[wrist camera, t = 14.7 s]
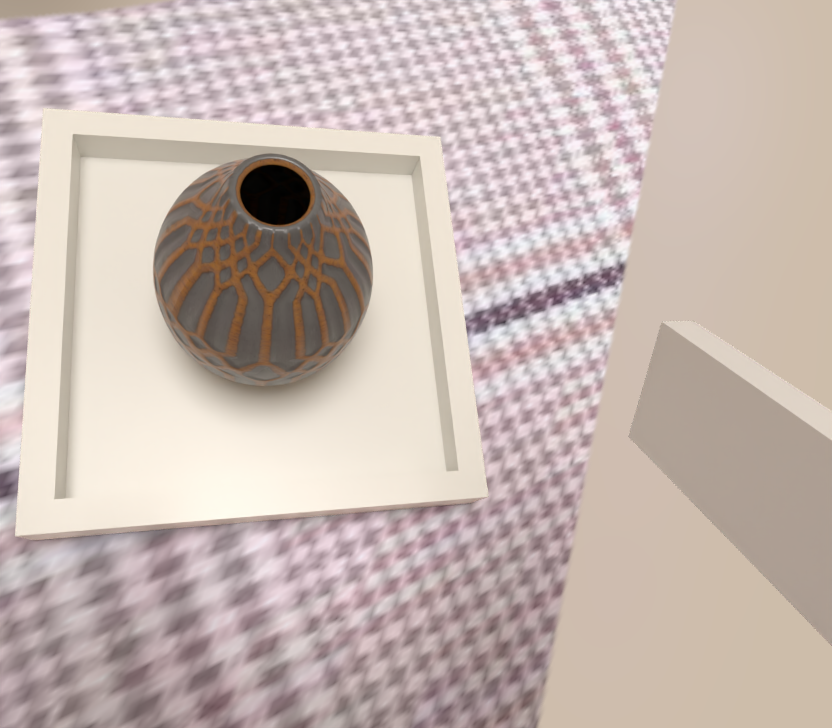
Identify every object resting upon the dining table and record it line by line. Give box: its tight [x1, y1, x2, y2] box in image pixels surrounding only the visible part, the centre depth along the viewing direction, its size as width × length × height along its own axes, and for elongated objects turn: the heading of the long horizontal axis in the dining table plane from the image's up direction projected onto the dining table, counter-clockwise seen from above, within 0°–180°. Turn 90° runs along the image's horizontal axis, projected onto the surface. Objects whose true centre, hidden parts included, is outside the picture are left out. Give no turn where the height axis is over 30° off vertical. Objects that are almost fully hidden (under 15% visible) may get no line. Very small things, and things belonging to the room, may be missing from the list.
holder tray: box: [15, 108, 489, 540], centre depth 25 cm, size 15×15×2 cm
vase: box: [153, 153, 373, 386], centre depth 21 cm, size 7×7×9 cm
